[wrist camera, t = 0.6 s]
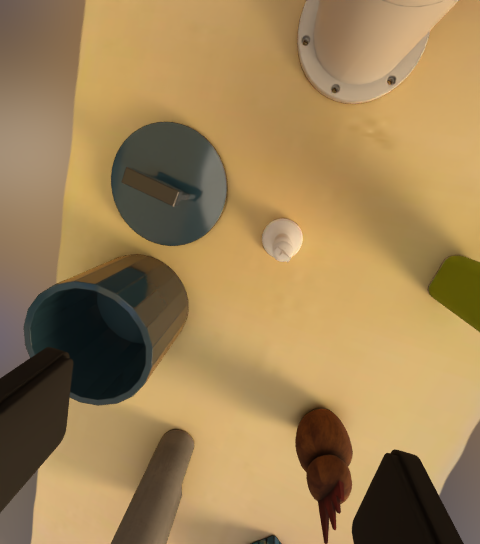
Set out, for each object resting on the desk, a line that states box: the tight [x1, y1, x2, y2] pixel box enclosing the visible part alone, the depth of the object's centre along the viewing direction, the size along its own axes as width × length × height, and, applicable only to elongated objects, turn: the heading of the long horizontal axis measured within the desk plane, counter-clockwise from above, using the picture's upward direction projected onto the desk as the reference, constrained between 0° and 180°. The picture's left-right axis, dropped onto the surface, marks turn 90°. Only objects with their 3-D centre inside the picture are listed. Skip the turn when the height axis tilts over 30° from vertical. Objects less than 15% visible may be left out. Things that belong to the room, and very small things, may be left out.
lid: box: [111, 122, 227, 246], centre depth 35 cm, size 14×14×6 cm
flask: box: [111, 430, 194, 544], centre depth 40 cm, size 15×6×20 cm, turn 166°
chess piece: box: [262, 218, 303, 262], centre depth 33 cm, size 5×5×10 cm
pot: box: [24, 254, 188, 405], centre depth 37 cm, size 13×13×12 cm
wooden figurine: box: [296, 409, 353, 544], centre depth 37 cm, size 7×6×15 cm
